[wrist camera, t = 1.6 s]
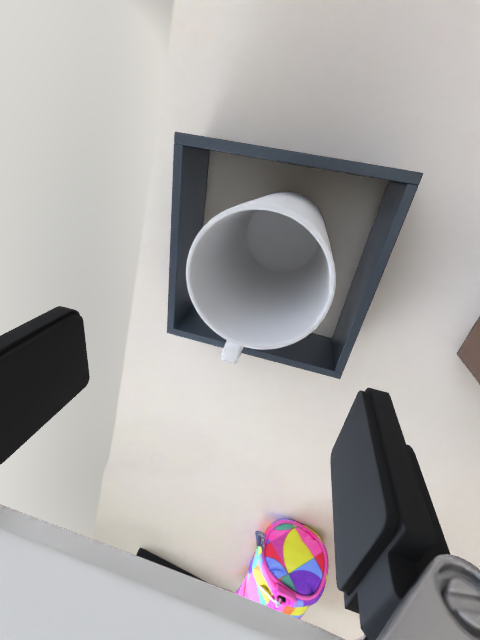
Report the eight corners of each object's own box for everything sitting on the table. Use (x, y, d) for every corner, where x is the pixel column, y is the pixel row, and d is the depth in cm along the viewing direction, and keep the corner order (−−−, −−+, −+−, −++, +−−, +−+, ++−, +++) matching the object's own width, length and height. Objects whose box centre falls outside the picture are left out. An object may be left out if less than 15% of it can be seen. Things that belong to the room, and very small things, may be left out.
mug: (260, 173, 22) (207, 176, 12) (344, 207, 22) (368, 241, 11) (221, 289, 27) (160, 364, 17) (289, 318, 27) (270, 413, 16)
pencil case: (261, 501, 39) (247, 583, 32) (331, 526, 38) (335, 617, 30) (235, 573, 50) (219, 648, 42) (289, 594, 49) (283, 676, 41)
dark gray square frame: (202, 139, 22) (174, 131, 18) (401, 172, 20) (424, 172, 16) (189, 308, 29) (166, 333, 24) (336, 345, 27) (340, 379, 22)
